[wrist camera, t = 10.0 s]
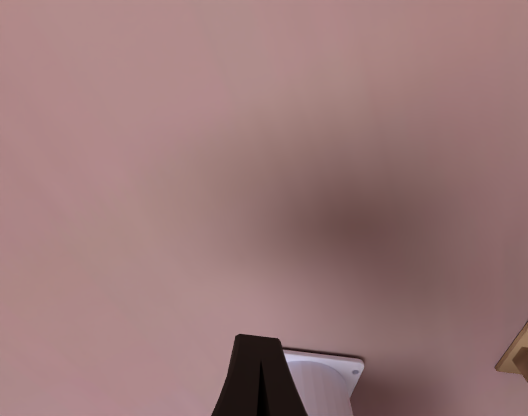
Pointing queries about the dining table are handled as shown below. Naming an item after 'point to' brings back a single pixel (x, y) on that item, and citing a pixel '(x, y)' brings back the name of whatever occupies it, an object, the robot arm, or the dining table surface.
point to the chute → (516, 356)
